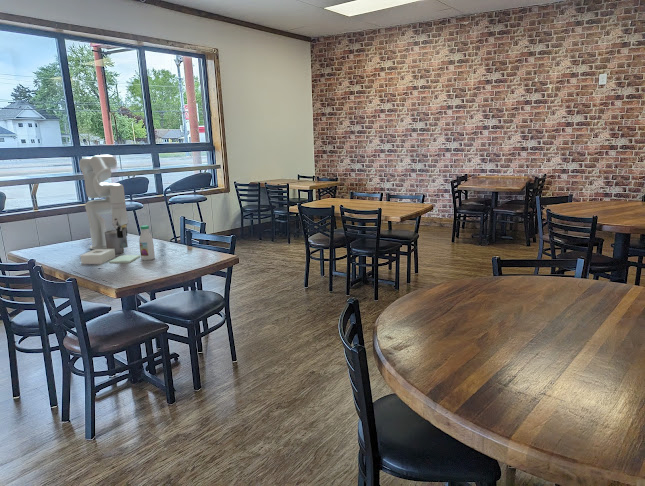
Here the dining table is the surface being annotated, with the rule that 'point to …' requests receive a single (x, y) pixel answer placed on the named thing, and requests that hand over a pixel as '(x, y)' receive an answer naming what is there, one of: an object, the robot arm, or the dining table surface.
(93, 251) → the block
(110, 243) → the grey bin
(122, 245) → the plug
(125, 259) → the pad
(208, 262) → the dining table surface
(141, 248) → the milk bottle
